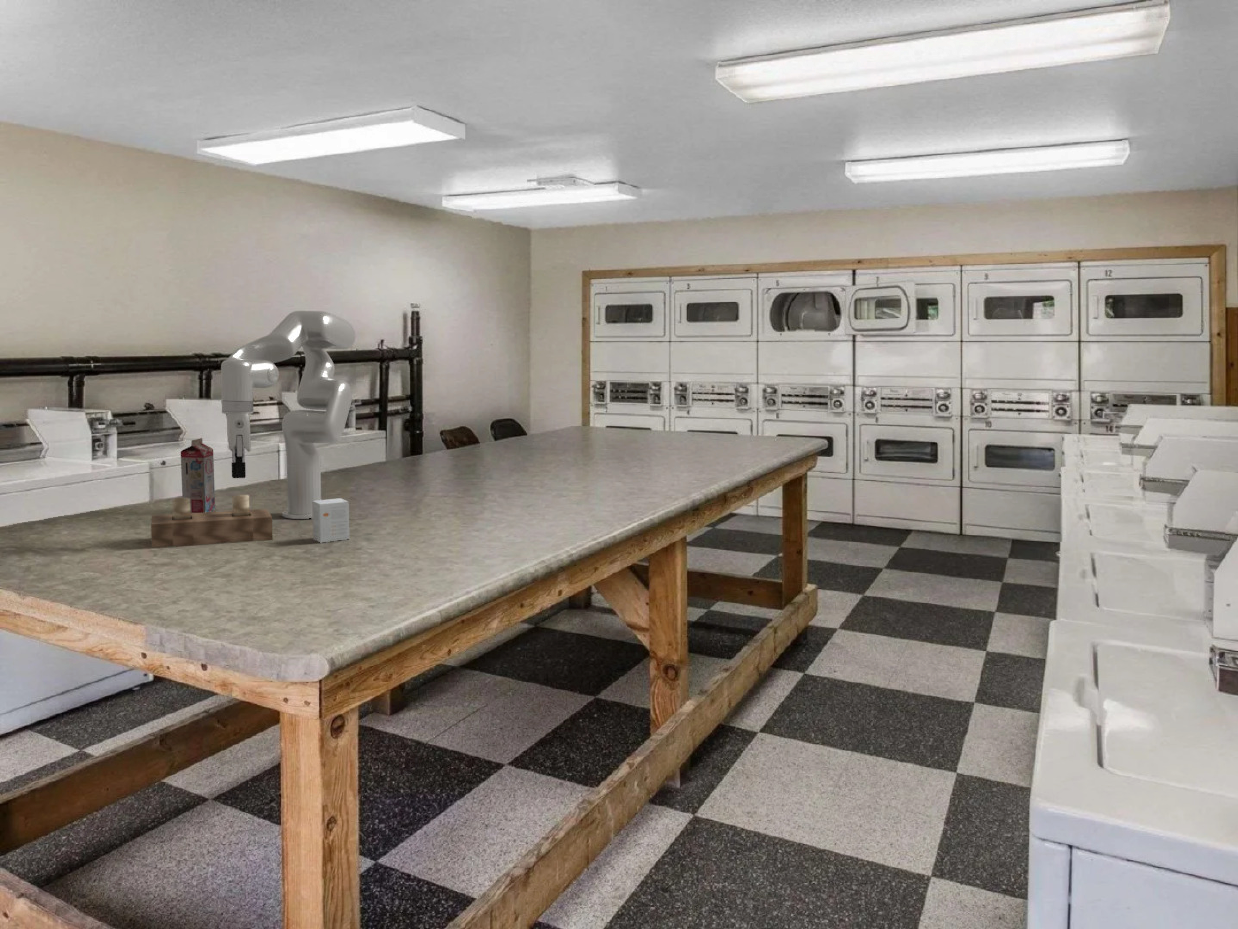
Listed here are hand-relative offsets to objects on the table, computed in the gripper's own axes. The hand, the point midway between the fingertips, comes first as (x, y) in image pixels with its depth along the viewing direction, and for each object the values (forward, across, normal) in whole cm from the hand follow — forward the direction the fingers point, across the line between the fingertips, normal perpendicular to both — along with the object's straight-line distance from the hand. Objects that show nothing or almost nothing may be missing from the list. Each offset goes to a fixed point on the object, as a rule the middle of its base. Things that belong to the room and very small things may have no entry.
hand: (238, 477), depth 228 cm
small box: (+16, -10, -22) cm, 29 cm away
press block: (+16, +1, +6) cm, 17 cm away
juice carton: (+16, +41, +8) cm, 44 cm away
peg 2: (+11, +1, -1) cm, 11 cm away
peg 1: (+11, +1, +13) cm, 17 cm away
